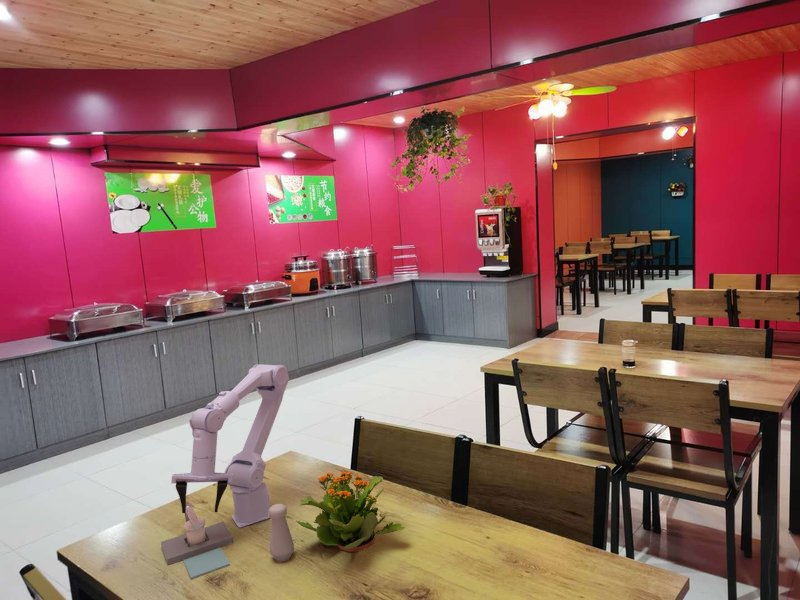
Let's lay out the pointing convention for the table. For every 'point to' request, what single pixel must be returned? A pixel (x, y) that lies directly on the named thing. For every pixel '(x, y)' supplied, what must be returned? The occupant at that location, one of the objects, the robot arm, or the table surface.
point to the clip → (192, 516)
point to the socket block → (179, 551)
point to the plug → (195, 533)
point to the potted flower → (347, 513)
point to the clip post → (186, 517)
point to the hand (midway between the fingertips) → (200, 511)
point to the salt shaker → (280, 534)
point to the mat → (206, 563)
